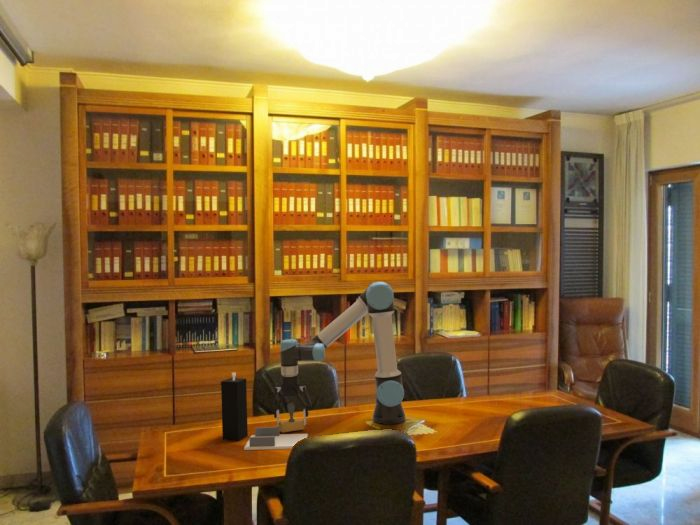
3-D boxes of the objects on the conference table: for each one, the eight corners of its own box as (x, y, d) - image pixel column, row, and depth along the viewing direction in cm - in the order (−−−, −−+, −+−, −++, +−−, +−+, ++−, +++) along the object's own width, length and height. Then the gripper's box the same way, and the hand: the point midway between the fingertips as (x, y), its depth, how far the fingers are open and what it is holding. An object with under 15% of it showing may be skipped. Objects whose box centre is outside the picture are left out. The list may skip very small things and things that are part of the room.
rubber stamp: (300, 426, 245) (299, 399, 245) (304, 429, 240) (303, 402, 240) (279, 429, 241) (278, 402, 241) (283, 433, 236) (282, 405, 236)
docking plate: (307, 436, 233) (307, 425, 233) (304, 448, 217) (304, 436, 217) (251, 437, 233) (251, 426, 233) (244, 450, 217) (244, 438, 217)
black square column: (248, 435, 235) (246, 370, 235) (238, 441, 228) (236, 374, 228) (232, 434, 238) (230, 370, 238) (222, 440, 230) (220, 373, 231)
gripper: (317, 372, 245) (318, 421, 244) (264, 374, 245) (266, 423, 244) (315, 375, 237) (317, 426, 237) (261, 377, 237) (263, 428, 237)
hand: (291, 424), depth 241 cm, fingers closed on rubber stamp, 11 cm apart
